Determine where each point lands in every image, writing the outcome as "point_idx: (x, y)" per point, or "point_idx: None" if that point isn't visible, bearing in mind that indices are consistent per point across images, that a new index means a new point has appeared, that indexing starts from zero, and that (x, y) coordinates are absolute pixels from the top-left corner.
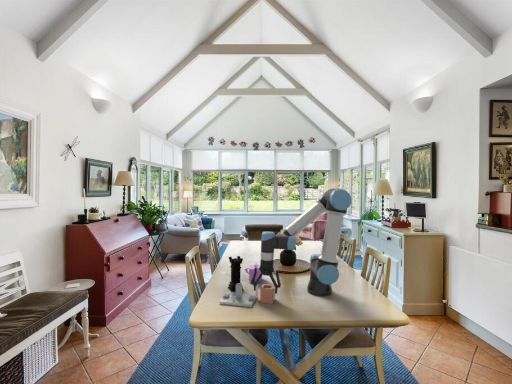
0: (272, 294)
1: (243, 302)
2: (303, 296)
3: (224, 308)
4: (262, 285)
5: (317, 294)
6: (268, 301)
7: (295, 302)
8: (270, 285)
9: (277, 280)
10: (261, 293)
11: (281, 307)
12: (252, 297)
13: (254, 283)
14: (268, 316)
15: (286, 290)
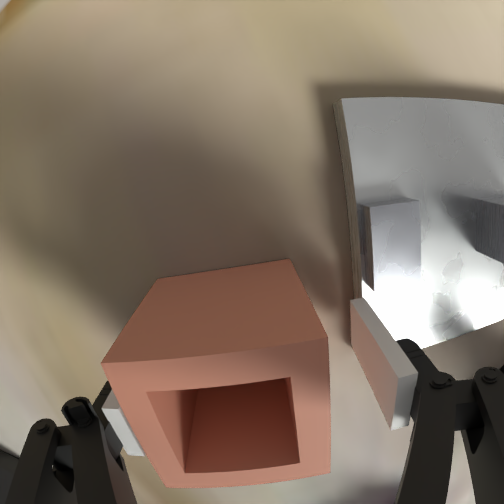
0: (129, 322)
1: (433, 129)
2: None
3: (498, 48)
4: (322, 441)
5: (3, 456)
6: (196, 278)
7: (24, 358)
8: (208, 471)
9: (28, 498)
10: (290, 299)
11: (56, 228)
12: (387, 241)
13: (453, 399)
14: (109, 8)
15: (176, 500)
